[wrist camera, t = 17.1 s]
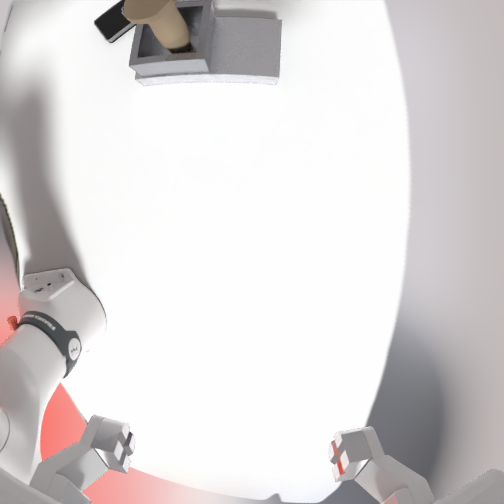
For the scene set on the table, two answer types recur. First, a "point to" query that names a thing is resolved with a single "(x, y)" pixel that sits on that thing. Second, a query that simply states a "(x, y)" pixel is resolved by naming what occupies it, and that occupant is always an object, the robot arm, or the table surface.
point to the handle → (161, 22)
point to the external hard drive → (113, 23)
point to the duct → (210, 50)
